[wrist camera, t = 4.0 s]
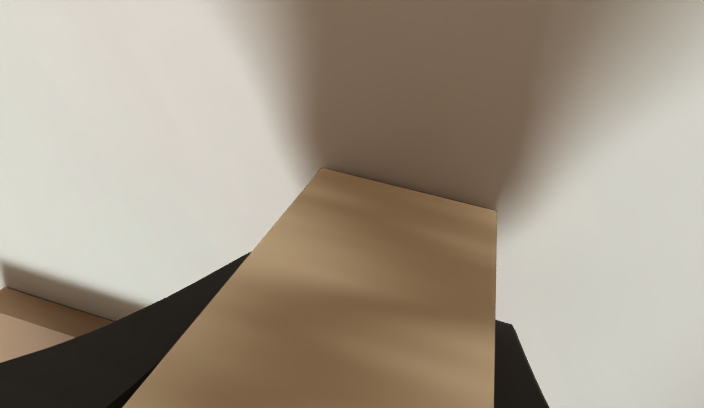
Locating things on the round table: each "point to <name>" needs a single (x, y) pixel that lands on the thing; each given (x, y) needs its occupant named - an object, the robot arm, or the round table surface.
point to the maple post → (347, 309)
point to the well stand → (38, 324)
